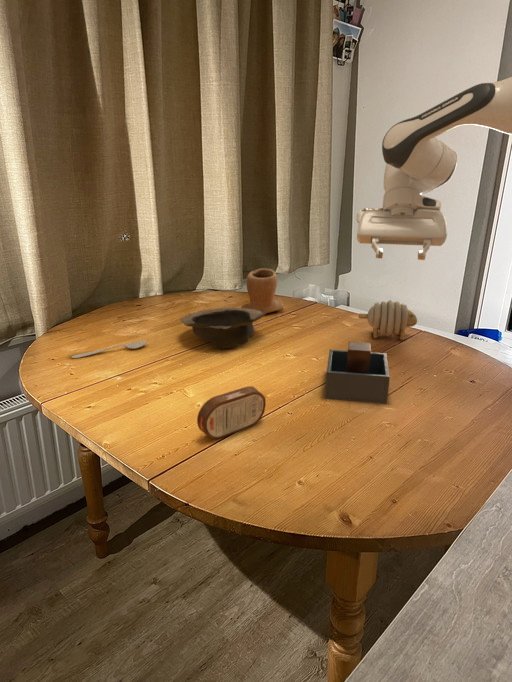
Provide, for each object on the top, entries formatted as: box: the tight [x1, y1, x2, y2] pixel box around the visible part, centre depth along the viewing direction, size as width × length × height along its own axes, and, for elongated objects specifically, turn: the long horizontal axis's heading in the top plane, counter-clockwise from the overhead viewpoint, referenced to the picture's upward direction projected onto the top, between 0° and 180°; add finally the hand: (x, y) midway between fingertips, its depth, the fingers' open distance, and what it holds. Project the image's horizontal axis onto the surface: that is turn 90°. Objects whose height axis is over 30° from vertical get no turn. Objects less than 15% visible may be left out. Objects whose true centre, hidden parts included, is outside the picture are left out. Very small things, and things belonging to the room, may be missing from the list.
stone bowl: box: [180, 307, 268, 350], centre depth 147 cm, size 25×25×9 cm
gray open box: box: [324, 349, 390, 405], centre depth 117 cm, size 14×14×7 cm
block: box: [346, 341, 372, 374], centre depth 116 cm, size 5×5×10 cm
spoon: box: [71, 340, 148, 359], centre depth 138 cm, size 4×21×2 cm, turn 114°
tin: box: [196, 385, 267, 439], centre depth 99 cm, size 15×3×8 cm, turn 126°
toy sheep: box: [358, 299, 418, 341], centre depth 148 cm, size 11×17×11 cm, turn 84°
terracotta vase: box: [240, 267, 285, 314], centre depth 169 cm, size 15×12×15 cm
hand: (400, 257), depth 115 cm, fingers open, 8 cm apart
